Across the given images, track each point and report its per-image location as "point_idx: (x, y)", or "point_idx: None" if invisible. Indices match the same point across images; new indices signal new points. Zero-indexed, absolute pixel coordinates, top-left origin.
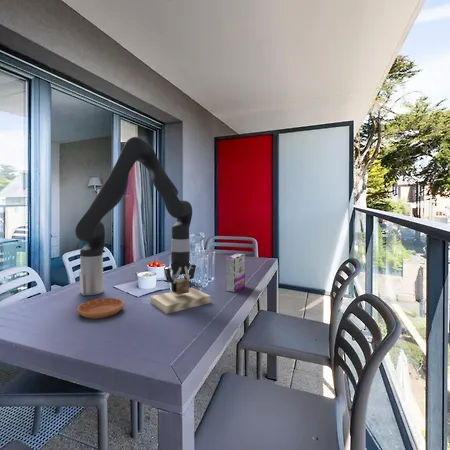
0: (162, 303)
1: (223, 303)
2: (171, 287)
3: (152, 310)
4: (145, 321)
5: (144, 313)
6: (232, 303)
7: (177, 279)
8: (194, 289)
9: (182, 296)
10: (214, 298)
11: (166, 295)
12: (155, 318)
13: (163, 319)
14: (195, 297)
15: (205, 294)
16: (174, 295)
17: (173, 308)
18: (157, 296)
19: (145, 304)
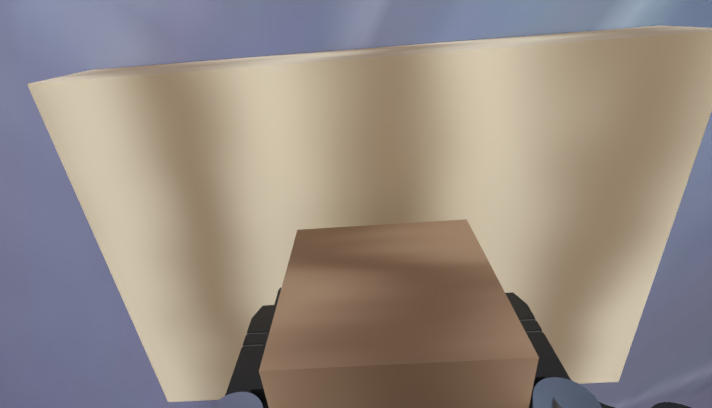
0: (146, 348)
1: (642, 379)
2: (245, 342)
3: (100, 250)
4: (43, 379)
5: (32, 272)
6: (685, 403)
7: (372, 397)
8: (682, 138)
9: None
10: (699, 271)
11: (241, 168)
12: (109, 371)
13: (157, 400)
14: None
15: (615, 341)
16: (329, 217)
17: None
18: (123, 145)
19: (34, 70)
